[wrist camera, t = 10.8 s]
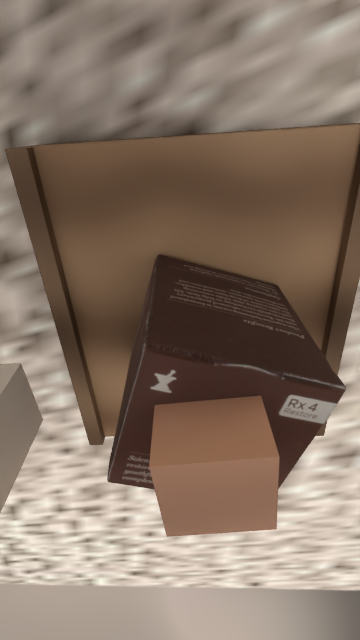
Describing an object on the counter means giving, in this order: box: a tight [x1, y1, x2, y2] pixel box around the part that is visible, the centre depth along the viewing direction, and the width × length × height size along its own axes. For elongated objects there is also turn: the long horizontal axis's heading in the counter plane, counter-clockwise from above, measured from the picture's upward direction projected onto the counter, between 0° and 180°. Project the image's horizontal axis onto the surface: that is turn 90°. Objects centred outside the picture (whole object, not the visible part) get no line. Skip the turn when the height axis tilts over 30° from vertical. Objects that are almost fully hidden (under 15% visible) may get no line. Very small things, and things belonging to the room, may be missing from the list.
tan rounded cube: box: [149, 396, 279, 537], centre depth 9 cm, size 3×3×2 cm
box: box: [107, 255, 346, 489], centre depth 13 cm, size 6×6×7 cm
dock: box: [5, 123, 360, 445], centre depth 17 cm, size 16×14×3 cm
